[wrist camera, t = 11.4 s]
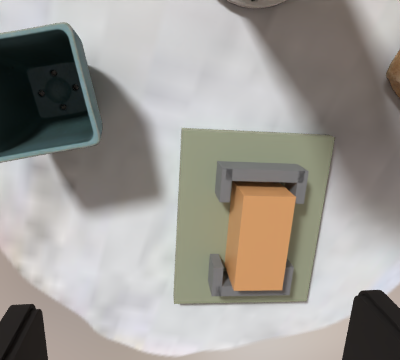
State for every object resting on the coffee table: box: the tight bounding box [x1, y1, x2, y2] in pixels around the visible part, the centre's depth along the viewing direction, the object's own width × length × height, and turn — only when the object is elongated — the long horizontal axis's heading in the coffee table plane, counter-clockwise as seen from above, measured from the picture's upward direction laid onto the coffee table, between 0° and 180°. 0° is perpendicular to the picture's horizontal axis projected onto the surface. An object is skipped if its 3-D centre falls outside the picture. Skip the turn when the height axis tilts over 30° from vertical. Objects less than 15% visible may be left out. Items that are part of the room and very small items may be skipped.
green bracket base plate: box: [174, 128, 335, 304], centre depth 38 cm, size 20×16×4 cm
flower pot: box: [0, 22, 102, 163], centre depth 29 cm, size 9×9×9 cm
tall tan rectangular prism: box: [225, 181, 296, 291], centre depth 36 cm, size 10×5×5 cm, turn 176°
